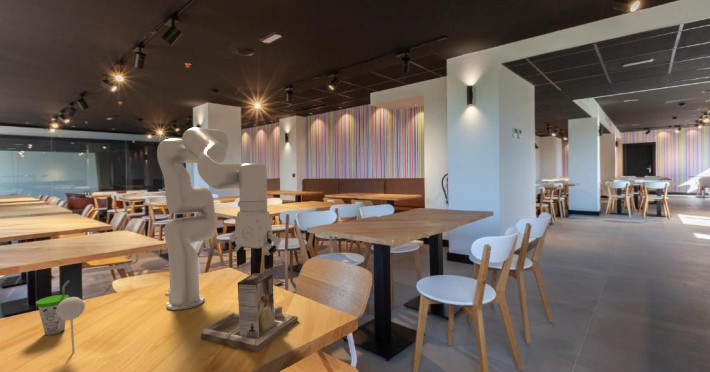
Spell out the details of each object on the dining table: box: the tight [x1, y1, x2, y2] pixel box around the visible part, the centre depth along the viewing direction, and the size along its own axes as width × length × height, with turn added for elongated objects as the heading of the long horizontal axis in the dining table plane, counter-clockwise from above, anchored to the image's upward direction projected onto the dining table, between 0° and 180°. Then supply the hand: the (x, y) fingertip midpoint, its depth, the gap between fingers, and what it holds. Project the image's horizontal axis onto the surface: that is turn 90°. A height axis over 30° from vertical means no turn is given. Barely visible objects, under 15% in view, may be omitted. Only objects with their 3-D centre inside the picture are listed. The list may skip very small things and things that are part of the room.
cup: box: [35, 280, 70, 336], centre depth 105 cm, size 8×8×15 cm
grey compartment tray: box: [200, 305, 299, 353], centre depth 104 cm, size 20×20×5 cm
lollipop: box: [56, 296, 86, 353], centre depth 93 cm, size 6×6×15 cm
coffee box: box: [237, 272, 275, 340], centre depth 99 cm, size 9×6×16 cm
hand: (255, 266), depth 99 cm, fingers open, 9 cm apart
